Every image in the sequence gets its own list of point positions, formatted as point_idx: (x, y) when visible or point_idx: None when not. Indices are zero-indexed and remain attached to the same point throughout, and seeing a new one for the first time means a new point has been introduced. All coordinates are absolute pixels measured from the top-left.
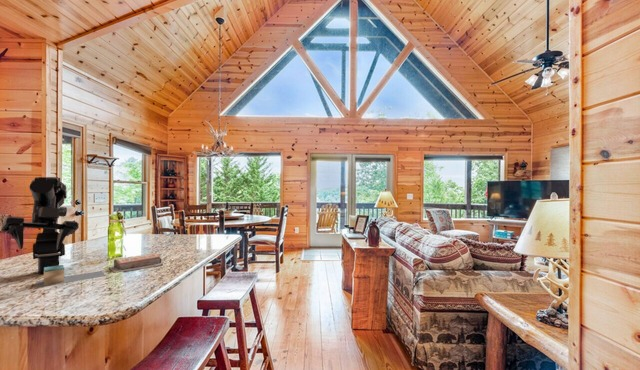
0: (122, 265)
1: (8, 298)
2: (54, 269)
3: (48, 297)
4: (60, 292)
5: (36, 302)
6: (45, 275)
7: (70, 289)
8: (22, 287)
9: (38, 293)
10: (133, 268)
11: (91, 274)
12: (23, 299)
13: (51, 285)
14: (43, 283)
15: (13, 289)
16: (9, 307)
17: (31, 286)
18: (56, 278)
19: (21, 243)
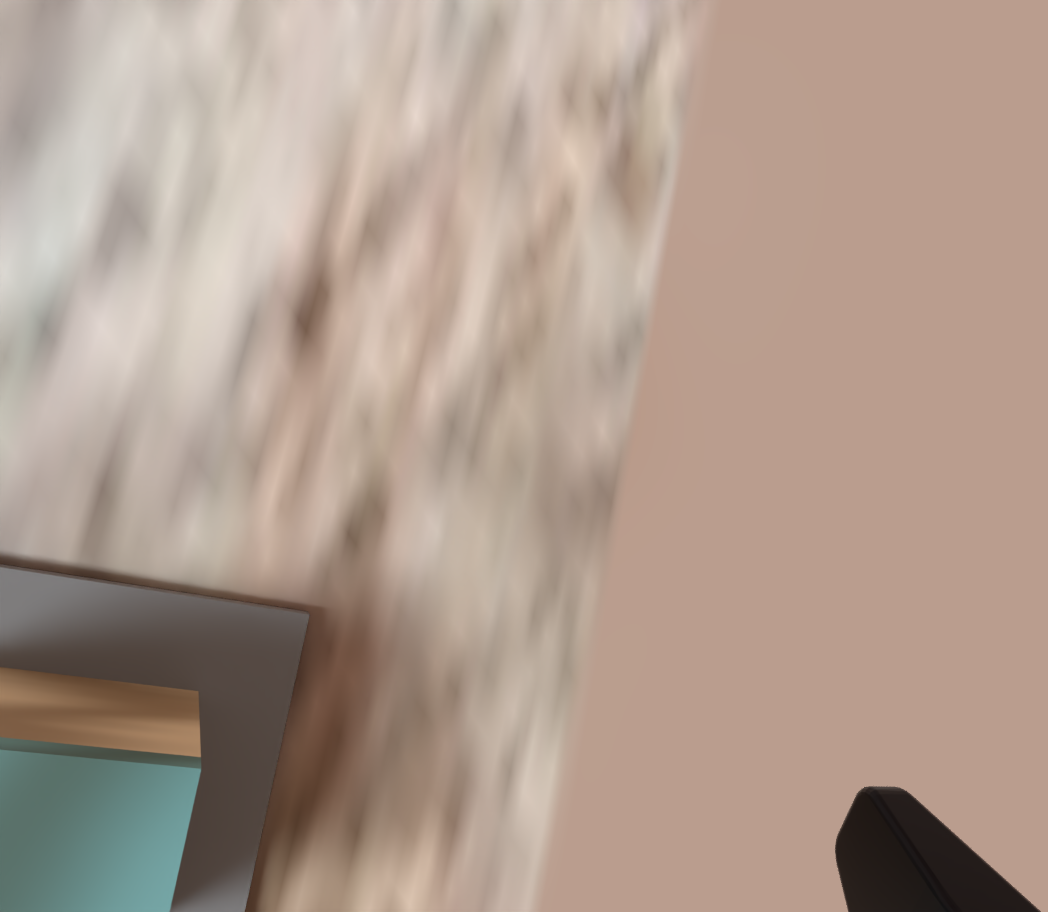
0: None
1: (599, 465)
2: (44, 753)
3: (328, 77)
4: (160, 160)
5: (466, 8)
6: (192, 734)
7: (14, 180)
8: (394, 864)
9: (351, 379)
10: None
11: None
12: (518, 272)
13: (142, 591)
14: None
15: (481, 845)
16: (663, 102)
17: (311, 826)
18: (37, 695)
19: (993, 904)
